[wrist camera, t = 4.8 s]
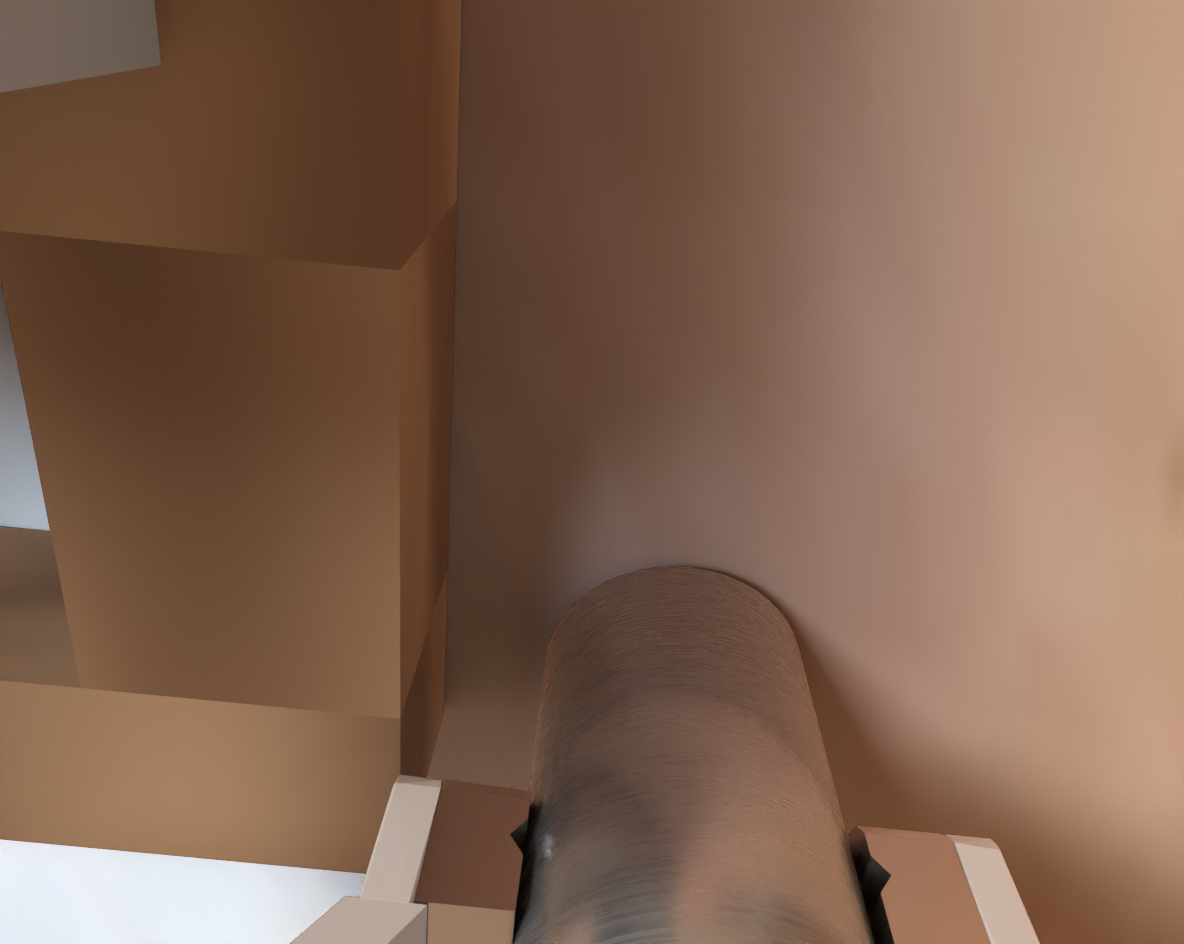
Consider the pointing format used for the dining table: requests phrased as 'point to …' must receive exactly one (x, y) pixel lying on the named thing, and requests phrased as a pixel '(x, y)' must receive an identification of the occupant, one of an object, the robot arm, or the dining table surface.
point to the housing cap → (74, 40)
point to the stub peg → (682, 777)
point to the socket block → (232, 432)
